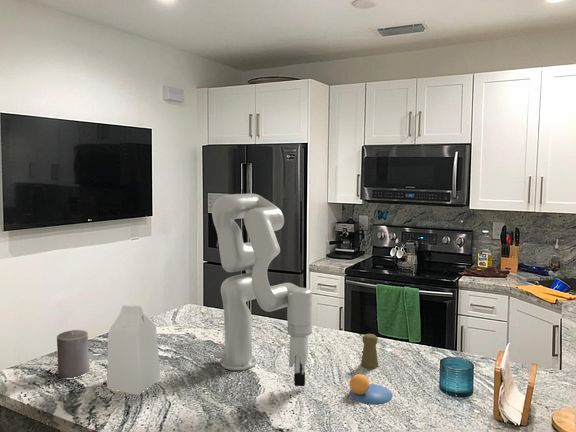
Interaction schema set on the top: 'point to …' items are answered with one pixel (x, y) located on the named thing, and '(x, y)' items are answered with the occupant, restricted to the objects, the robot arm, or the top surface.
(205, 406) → the top surface
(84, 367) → the pillar candle
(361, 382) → the ball
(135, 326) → the milk
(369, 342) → the olive chess pawn
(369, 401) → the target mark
